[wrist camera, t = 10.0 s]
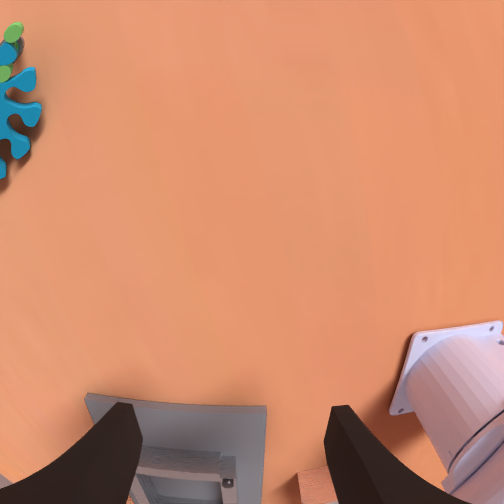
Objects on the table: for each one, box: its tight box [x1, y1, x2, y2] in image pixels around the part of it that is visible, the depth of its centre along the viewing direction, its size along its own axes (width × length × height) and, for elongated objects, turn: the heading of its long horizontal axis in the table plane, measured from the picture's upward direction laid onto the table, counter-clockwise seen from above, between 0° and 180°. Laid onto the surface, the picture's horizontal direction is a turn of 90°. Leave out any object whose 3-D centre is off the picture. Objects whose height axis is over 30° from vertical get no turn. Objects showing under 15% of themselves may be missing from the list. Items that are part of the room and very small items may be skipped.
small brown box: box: [297, 465, 339, 504], centre depth 23 cm, size 5×6×4 cm
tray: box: [84, 393, 267, 504], centre depth 23 cm, size 14×20×4 cm
